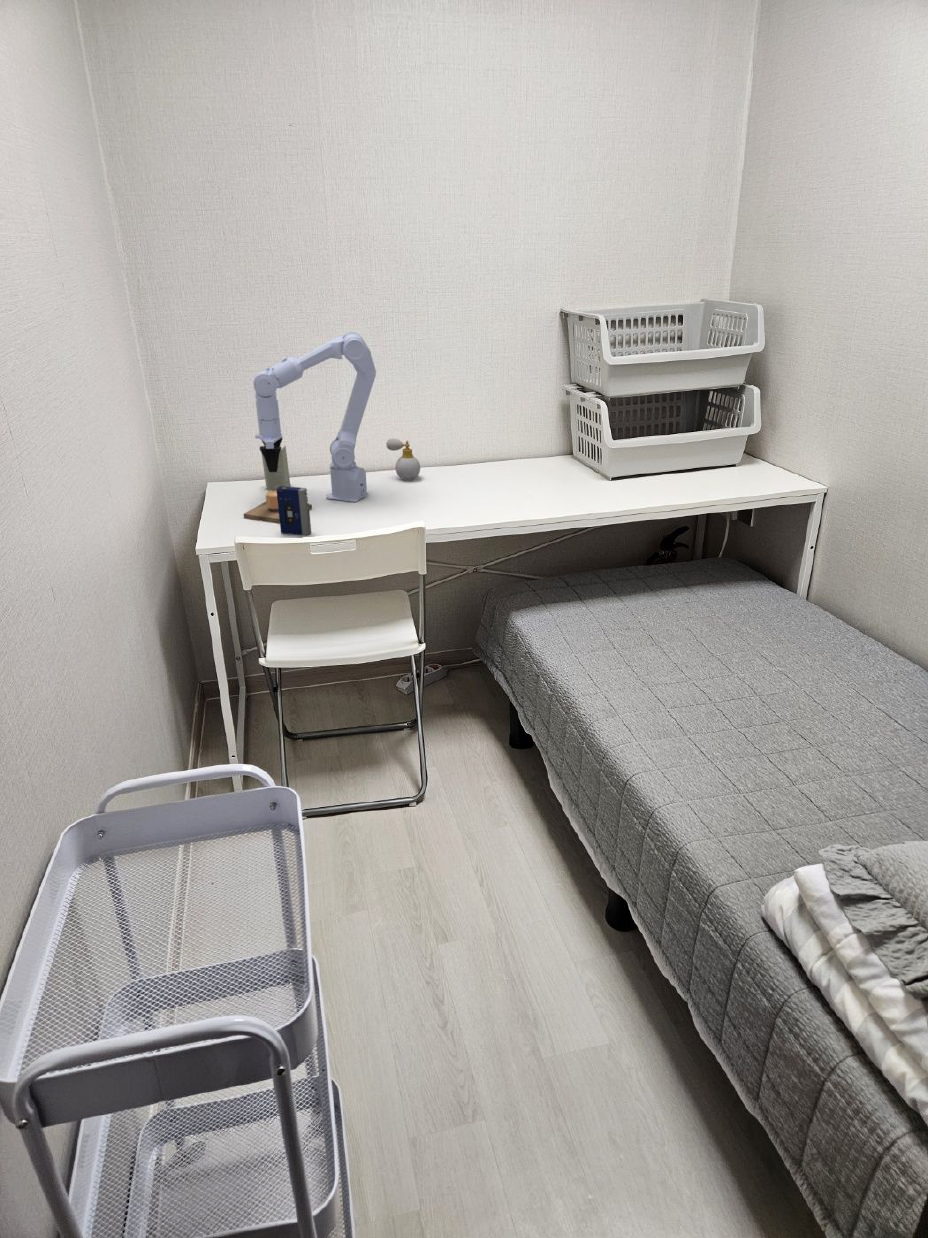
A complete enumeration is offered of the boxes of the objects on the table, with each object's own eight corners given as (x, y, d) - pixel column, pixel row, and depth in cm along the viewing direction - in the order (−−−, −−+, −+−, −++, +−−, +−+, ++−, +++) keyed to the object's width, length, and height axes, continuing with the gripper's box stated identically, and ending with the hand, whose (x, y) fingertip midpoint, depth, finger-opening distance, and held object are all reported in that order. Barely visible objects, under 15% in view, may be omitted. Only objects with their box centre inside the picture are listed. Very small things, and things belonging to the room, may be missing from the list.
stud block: (312, 508, 226) (310, 490, 223) (286, 524, 215) (284, 505, 212) (270, 503, 230) (268, 484, 227) (244, 518, 219) (241, 499, 216)
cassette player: (280, 533, 209) (275, 487, 203) (284, 530, 211) (279, 484, 205) (308, 535, 208) (304, 489, 202) (311, 532, 210) (307, 486, 204)
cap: (273, 510, 218) (272, 497, 216) (264, 505, 221) (262, 492, 220) (291, 505, 221) (289, 493, 219) (281, 501, 224) (280, 488, 223)
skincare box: (290, 485, 243) (286, 445, 238) (286, 490, 240) (282, 449, 234) (269, 485, 244) (265, 444, 238) (265, 489, 240) (260, 448, 235)
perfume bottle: (422, 481, 247) (421, 441, 242) (390, 483, 245) (388, 443, 240) (418, 474, 254) (417, 435, 248) (386, 476, 252) (385, 437, 246)
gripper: (254, 412, 227) (260, 461, 233) (251, 425, 214) (257, 476, 220) (281, 411, 228) (285, 459, 234) (279, 424, 215) (284, 474, 221)
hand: (273, 467), depth 227 cm, fingers open, 7 cm apart
